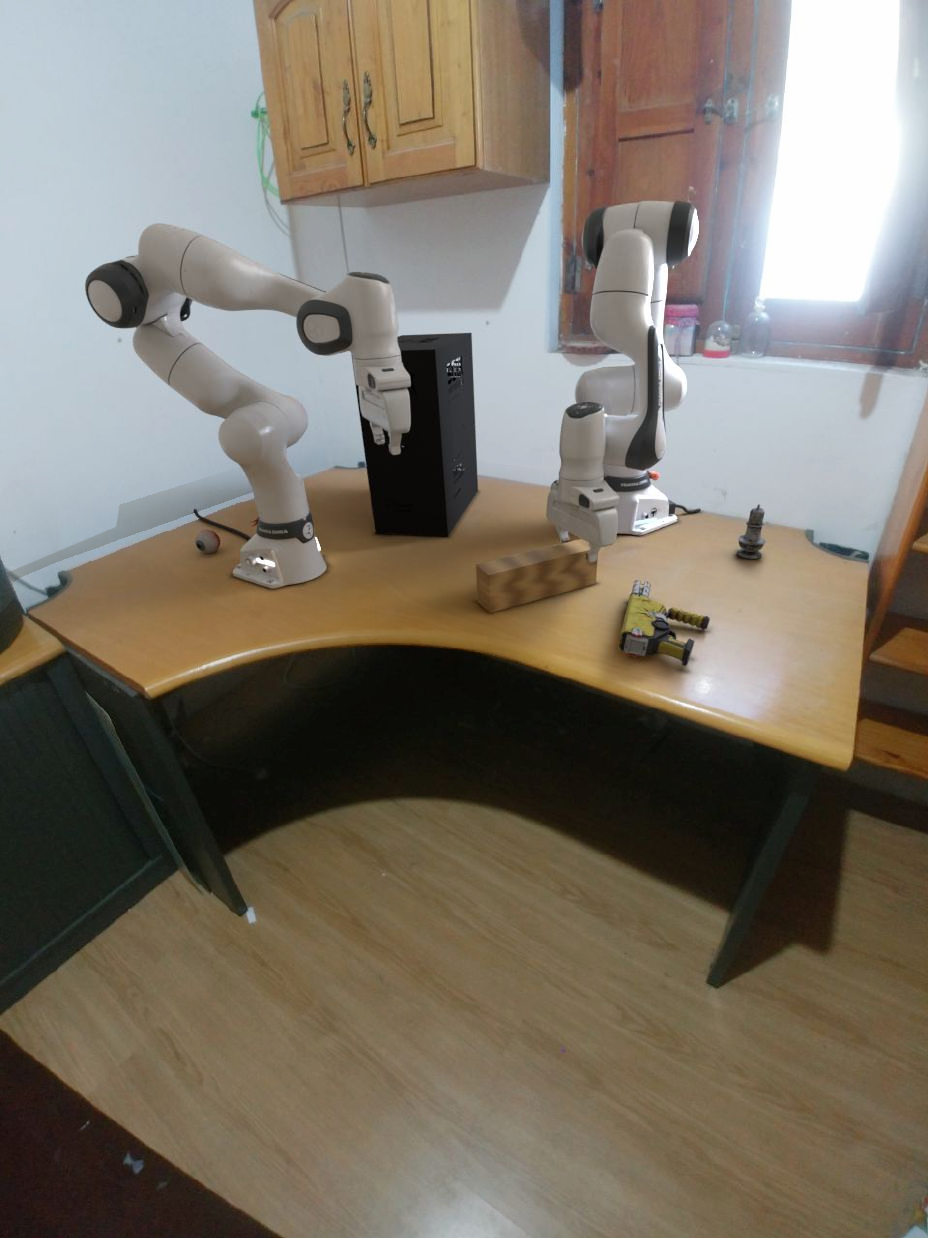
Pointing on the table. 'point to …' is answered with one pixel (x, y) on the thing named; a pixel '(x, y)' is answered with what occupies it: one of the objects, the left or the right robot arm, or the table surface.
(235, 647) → the table surface
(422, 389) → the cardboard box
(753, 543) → the salt shaker
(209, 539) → the eyeball
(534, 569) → the bar
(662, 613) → the toy gun
